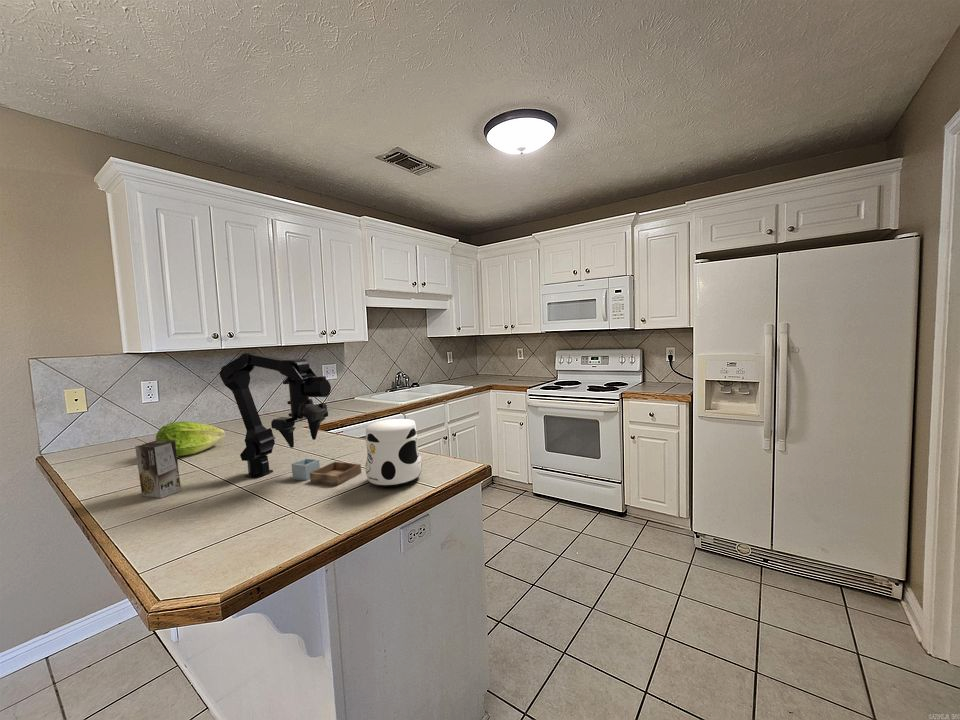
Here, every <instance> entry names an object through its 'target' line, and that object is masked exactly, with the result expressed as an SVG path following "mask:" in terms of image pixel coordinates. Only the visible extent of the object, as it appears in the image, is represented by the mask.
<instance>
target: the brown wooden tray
mask: <svg viewBox="0 0 960 720" xmlns="http://www.w3.org/2000/svg"><path fill="white" fill-rule="evenodd" d="M360 474H362V464H360V463H353V462H344V461H333V462H330V463H329V464H327V465H324V466H322V467H320V469H317V470H315V471H313V472H311V473H310V479H309V480H310V483H315V484H322V485H331V486H336V487H337V486H340V485H341V484H343V483H345V482H347V481H349V480H351V479H353V478H354V477H357V476H358V475H360Z"/></svg>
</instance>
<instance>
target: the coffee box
mask: <svg viewBox="0 0 960 720" xmlns="http://www.w3.org/2000/svg"><path fill="white" fill-rule="evenodd" d="M134 448H135V449H134V450H135V455H136V456H135V457H136V463H137V469H138V476H139V483H140V491H141V496H142V497H148V498H149V497H150V498H156V499H157V498H158V499H162V498H164V497H168V496H170V495H173V494H175V493H179V492H181V491H182V487H181V480H180V472H179V463H178V457H177V453H176V445H175V441H156V440H153V441H149V442H145V443H143V444H139V445H136V446H135V447H134Z"/></svg>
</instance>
